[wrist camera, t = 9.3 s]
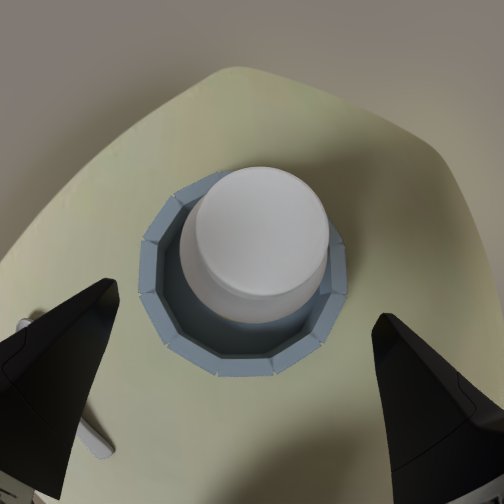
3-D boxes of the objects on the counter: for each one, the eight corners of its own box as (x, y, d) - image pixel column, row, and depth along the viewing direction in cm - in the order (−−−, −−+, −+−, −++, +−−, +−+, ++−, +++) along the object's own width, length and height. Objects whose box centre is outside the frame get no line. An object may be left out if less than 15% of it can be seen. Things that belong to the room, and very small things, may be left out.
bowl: (330, 362, 18) (348, 368, 15) (150, 364, 17) (138, 372, 14) (322, 195, 21) (337, 177, 18) (158, 190, 20) (150, 171, 17)
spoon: (39, 310, 17) (25, 310, 15) (125, 444, 16) (118, 455, 14) (18, 327, 16) (4, 329, 14) (99, 455, 16) (91, 466, 14)
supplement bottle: (300, 297, 18) (384, 271, 8) (221, 336, 17) (218, 361, 7) (261, 220, 19) (299, 125, 9) (183, 255, 18) (140, 184, 8)
